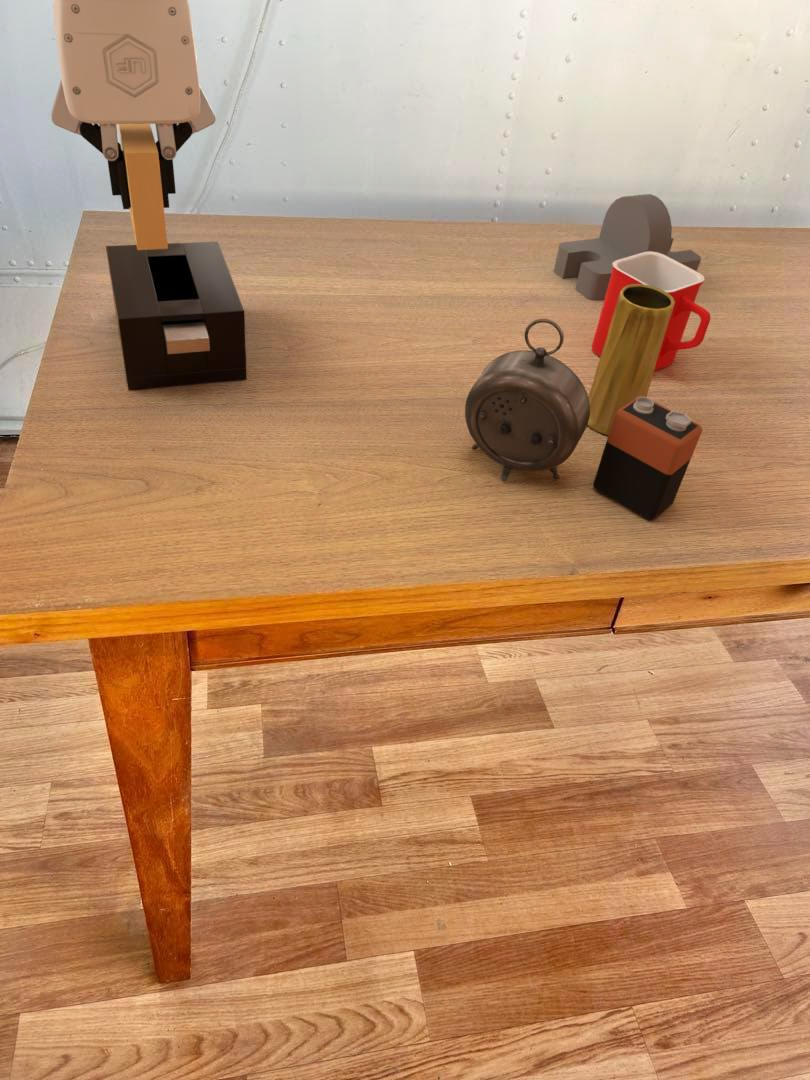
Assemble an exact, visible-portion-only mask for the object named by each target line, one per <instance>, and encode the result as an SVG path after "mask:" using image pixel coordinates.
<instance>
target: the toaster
mask: <svg viewBox="0 0 810 1080" xmlns="http://www.w3.org/2000/svg"><path fill="white" fill-rule="evenodd" d="M167 245H168V249H153V250H137V245H136V244H124V245H106V246H105V251H106V258H107V265H108V271H109V278H110V284H111V286H110V287H111V293H112V298H113V305H114V313H115V319H116V324H117V331H118V337H119V342H120V349H121V355H122V360H123V361H122V362H123V366H124V372H125V373H124V374H125V379H126V385H127V390H128V391H135V390H147V389H157V388H168V387H180V386H189V385H190V386H191V385H201V384H203V385H204V384H214V383H224V382H235V381H247V349H246V348H247V345H246V322H245V321H246V318H245V317H246V315H245V308H244V306H243V304H242V301H241V298H240V295H239V293H238V291H237V287H236V286H235V282H234V280H233V277H232V275H231V272H230V269H229V267H228V264H227V262H226V257H225V256H224V253H223V251H222V247H221V246H220V242H219V241H218V240H217V241H197V242H196V241H195V242H171V243H168V242H167ZM199 322H204V323H205V326H206V329H207V332H208V335H209V342H210V351H202V352H189V353H176V354H168V353H167V349H166V345H165V340H164V333H163V325H170V324H185V323H199Z"/></svg>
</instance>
